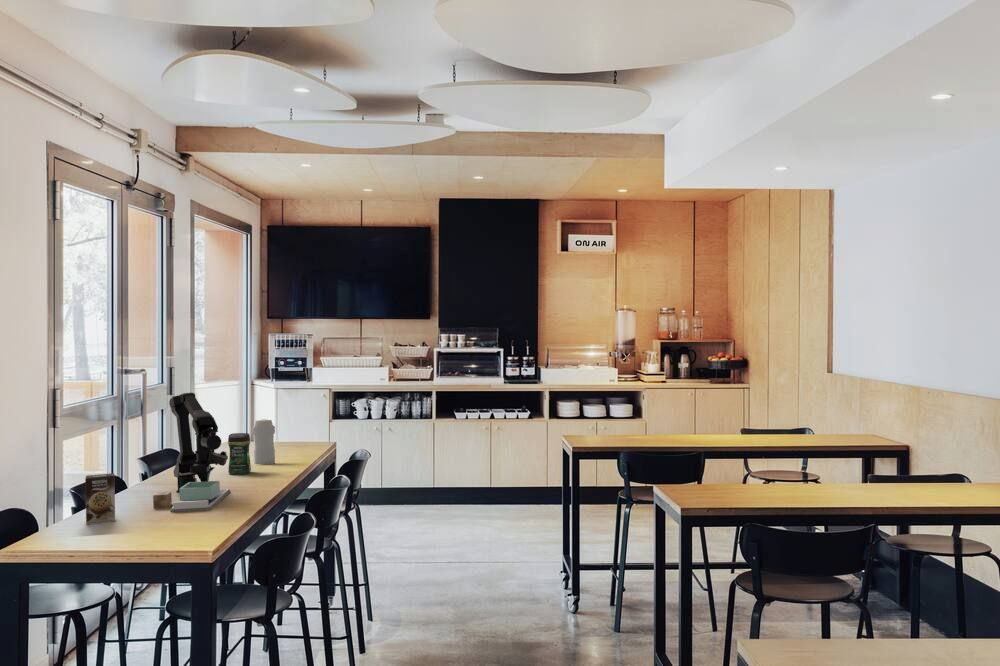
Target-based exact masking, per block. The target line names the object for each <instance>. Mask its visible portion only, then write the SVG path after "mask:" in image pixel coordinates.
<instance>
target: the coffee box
mask: <svg viewBox="0 0 1000 666" xmlns="http://www.w3.org/2000/svg"><path fill="white" fill-rule="evenodd" d="M84 480H85V524H86V525H93V524H99V523H102V524H103V523H109V522H116V504H115V503H116V502H115V501H116V497H115V494H116V492H115V489H116V488H115V486H116V485H115V473H114V472H111V473H102V474H90V475H89V474H88V475H85V479H84Z"/></svg>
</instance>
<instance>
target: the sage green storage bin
mask: <svg viewBox="0 0 1000 666" xmlns="http://www.w3.org/2000/svg"><path fill="white" fill-rule="evenodd" d="M220 484H221V483H220V480H209V481H205V482H201V481H197V482H188V483H187V484H185V485H184V486H183V487H181V488H180V489H179V491H180V492H179V502H180V501H189V500H208V502H210V501H211V499H213V498H214V497H216V495H218V494H219V493H220V490H221V489H220V487H221V486H220Z"/></svg>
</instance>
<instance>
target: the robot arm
mask: <svg viewBox="0 0 1000 666" xmlns="http://www.w3.org/2000/svg"><path fill="white" fill-rule="evenodd" d="M168 403H169V407H170V410H171V413H172V414H173V415H174V416H175V418H176V426H177V435H178V436H177V437H178V444H179V445H178V446H179V454H178V456H177V458H176V463H175V466H174V469H173V476H174V477H175V478H176V479H177V490H176V493H180V491H179V489H180V488H181V487H183V486H184V485H185V484H187V483H188V482H198V480H197V479H198V478H199V480H200V481H199V482H205V481H210V476H211V473H212V471H213V470H214V469H215V467H214V466H213V467H212V465H216V466H218V465H219V466H225V465H226V463H227V461H228V459H229V458H228V457H229V456H228V455H227V454H228V453H227V451H225V450H222V451H221V452H220V453H219V452H215V450H218V449H219V448H221V445H222V439H221V437H220V436H219V435H217V433H218V432H219V427H218V425H217V422H216V419H215V418H214V416H213V415H212V414H211V413H210V412H209V411H207V410H204V408H203V407H202V406H201V404H200V403H199V401H198V399H197V397H196V393H194V392H183V393H181V394H179V395H173V396H172V398H170V399H169V401H168ZM189 416H191V418H192V421H191V425H192V429H193V430H194V432H195V434H194V435H195V441H196V443H195V444H196V445H195V446H196V447H195V448H196V450H195V451H193V444H192V436H191V425H190V417H189ZM196 476H197V477H198V478H196Z"/></svg>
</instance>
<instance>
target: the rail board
mask: <svg viewBox="0 0 1000 666" xmlns="http://www.w3.org/2000/svg"><path fill="white" fill-rule="evenodd" d="M230 493H231V489H230V488H228V487H227V489H220V493H219V494H218V495H216V497H214V498H213V499H211V501H210V502H208V500H189V501H180V500H179V501H174V502H172V503H173V506H172V507H171V508H170V512H171V513H178V512H196V511H201V512H202V511H211V510H212V509H213V508H215V507H216V506H217V505H218V504H219V503H220V502H221V501H222V500H223V499H224V498H225V497H226V496H228V495H229V494H230Z"/></svg>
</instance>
